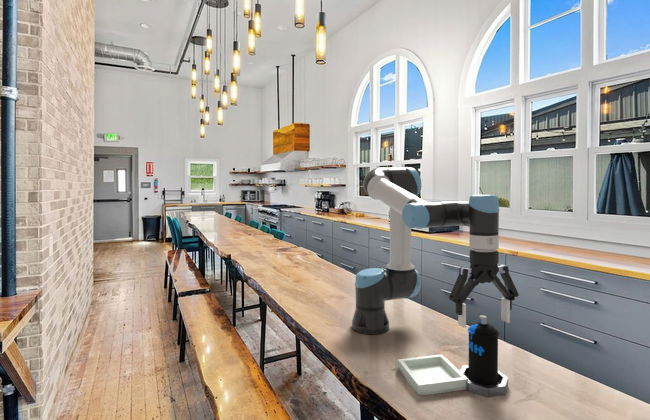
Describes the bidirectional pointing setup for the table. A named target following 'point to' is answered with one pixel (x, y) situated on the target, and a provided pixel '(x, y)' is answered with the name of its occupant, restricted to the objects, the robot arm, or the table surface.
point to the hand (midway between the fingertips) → (484, 323)
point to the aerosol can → (483, 353)
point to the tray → (432, 374)
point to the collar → (486, 390)
